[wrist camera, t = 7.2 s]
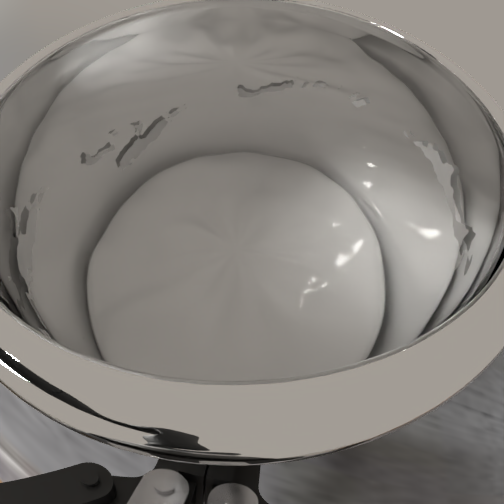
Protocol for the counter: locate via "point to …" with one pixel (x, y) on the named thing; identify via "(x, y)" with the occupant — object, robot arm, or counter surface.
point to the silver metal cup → (246, 230)
